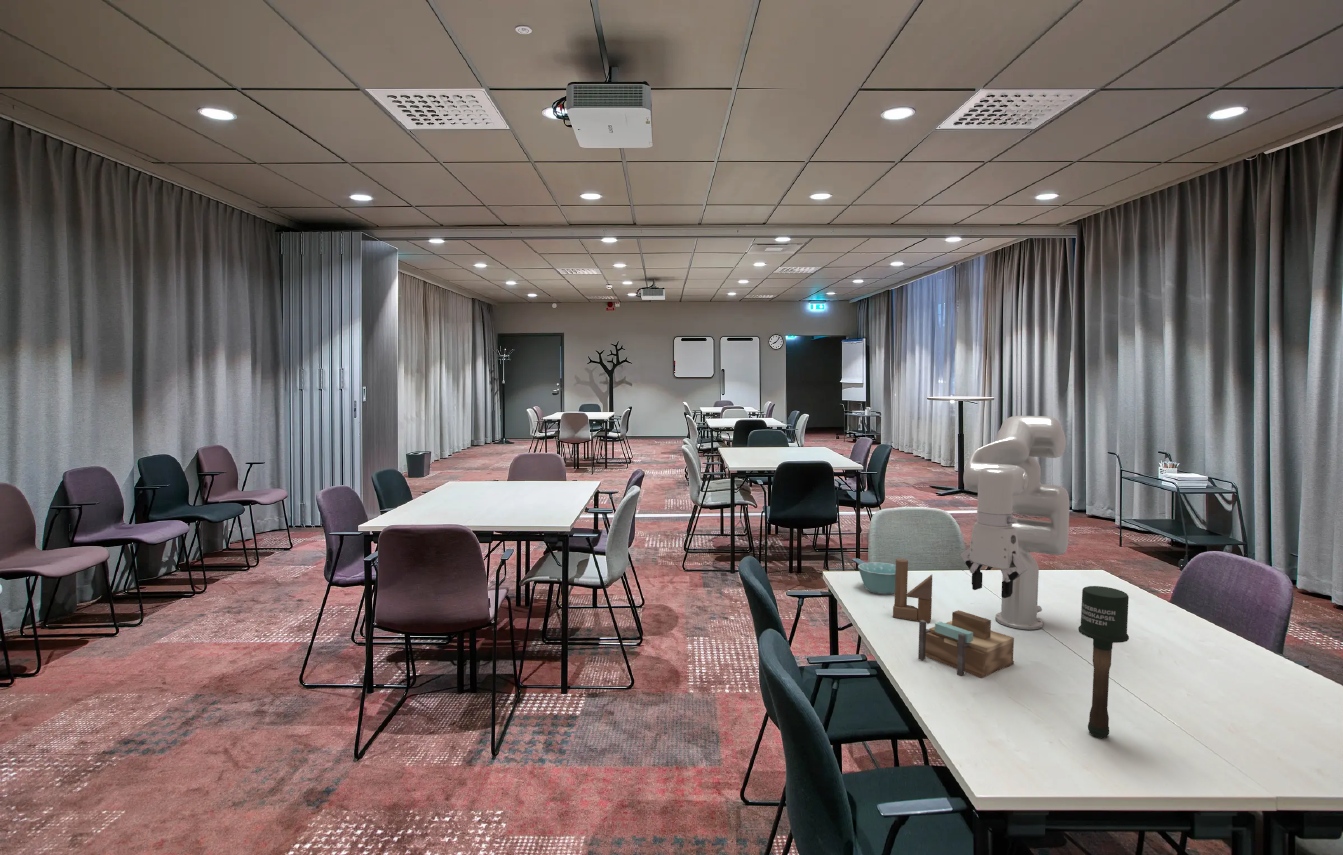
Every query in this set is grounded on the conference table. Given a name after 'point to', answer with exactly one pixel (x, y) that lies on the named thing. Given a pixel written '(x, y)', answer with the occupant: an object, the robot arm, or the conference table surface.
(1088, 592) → the stick grenade
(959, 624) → the lid
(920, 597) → the brown wooden block structure
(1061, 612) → the conference table surface
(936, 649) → the wooden box
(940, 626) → the teal rectangular bar
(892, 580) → the bowl
